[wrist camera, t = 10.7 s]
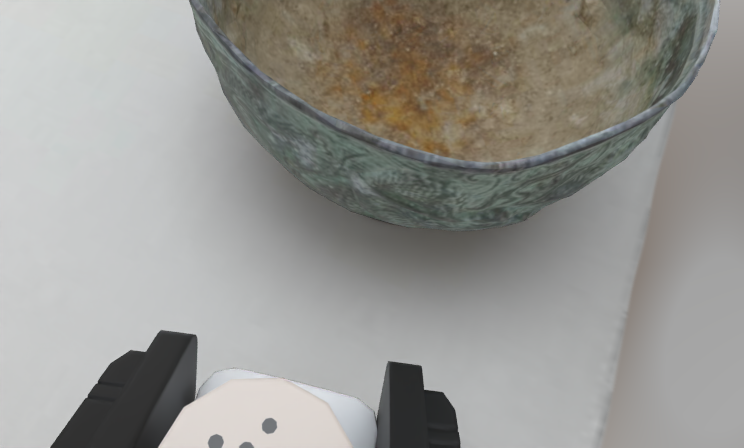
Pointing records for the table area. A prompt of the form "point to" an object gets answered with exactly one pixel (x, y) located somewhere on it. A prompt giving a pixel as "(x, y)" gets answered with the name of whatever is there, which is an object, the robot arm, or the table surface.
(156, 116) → the table surface
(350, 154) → the bowl
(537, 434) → the table surface
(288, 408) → the salt shaker
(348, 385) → the table surface
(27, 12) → the table surface
